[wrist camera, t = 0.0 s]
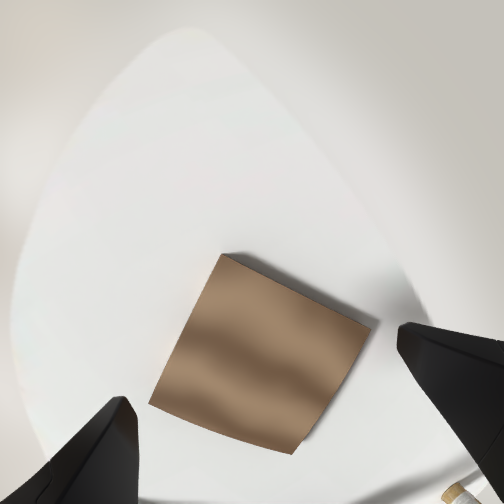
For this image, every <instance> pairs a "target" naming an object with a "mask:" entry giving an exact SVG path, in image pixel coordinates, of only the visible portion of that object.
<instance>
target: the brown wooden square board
mask: <svg viewBox="0 0 504 504" xmlns="http://www.w3.org/2000/svg"><path fill="white" fill-rule="evenodd" d="M370 331H371V329H369V328H367V327H365V326H364V325H362V324H360V323H358V322H356V321H354V320H352V319H349V318H347V317H345V316H343V315H341V314H339V313H337V312H335V311H333V310H331V309H329V308H327V307H325V306H323V305H321V304H319V303H317V302H315V301H313V300H311V299H309V298H307V297H305V296H303V295H301V294H299V293H297V292H295V291H293V290H291V289H289V288H287V287H285V286H283V285H281V284H279V283H277V282H276V281H274V280H272V279H270V278H268V277H266V276H264V275H262V274H260V273H258V272H256V271H254V270H252V269H250V268H248V267H246V266H244V265H242V264H240V263H238V262H236V261H234V260H233V259H231V258H229V257H227V256H225V255H223V254H221V255H220V257H219V259H218V261H217V263H216V265H215V267H214V269H213V271H212V273H211V275H210V277H209V279H208V281H207V283H206V285H205V287H204V289H203V291H202V293H201V295H200V297H199V299H198V301H197V303H196V305H195V307H194V309H193V311H192V313H191V315H190V317H189V319H188V321H187V323H186V325H185V327H184V329H183V331H182V333H181V335H180V337H179V339H178V341H177V343H176V345H175V347H174V349H173V352H172V354H171V356H170V358H169V360H168V362H167V364H166V366H165V368H164V370H163V372H162V375H161V377H160V379H159V381H158V383H157V385H156V387H155V389H154V392H153V394H152V396H151V398H150V401H149V403H148V404H150V405H152V406H154V407H157V408H159V409H161V410H163V411H165V412H167V413H170V414H172V415H174V416H176V417H179V418H181V419H183V420H186V421H188V422H191V423H193V424H195V425H198V426H201V427H203V428H206V429H208V430H211V431H214V432H216V433H219V434H222V435H225V436H228V437H231V438H234V439H237V440H240V441H243V442H246V443H250V444H253V445H256V446H260V447H263V448H267V449H271V450H274V451H278V452H282V453H286V454H291V455H292V454H293V453H294V451H295V450H296V449H297V447H298V446H299V445H300V443H301V442H302V441H303V439H304V438H305V437H306V435H307V434H308V432H309V431H310V430H311V428H312V427H313V425H314V424H315V423H316V421H317V420H318V418H319V417H320V415H321V414H322V412H323V411H324V409H325V408H326V406H327V405H328V403H329V402H330V400H331V399H332V397H333V395H334V394H335V392H336V391H337V389H338V387H339V386H340V384H341V383H342V381H343V379H344V378H345V376H346V374H347V373H348V371H349V369H350V367H351V366H352V364H353V362H354V360H355V359H356V357H357V355H358V353H359V352H360V350H361V348H362V346H363V344H364V342H365V340H366V339H367V337H368V335H369V333H370Z"/></svg>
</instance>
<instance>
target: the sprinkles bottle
mask: <svg viewBox="0 0 504 504" xmlns="http://www.w3.org/2000/svg"><path fill="white" fill-rule="evenodd" d="M441 499H442V500H443V501H444V502H445V503H446V504H481V503H480V502H479V501H478V500H477V499H476V498H475V497H474V496H473V495H472V494H471V493H469V492H468V491H467V490H465V489H464V488H463V487H462V486H461V485H460V483H456V484H454V485H453V486H451V487H450V488H449V489H448V490H446V492H445V493H444V494H443V496H442V498H441Z"/></svg>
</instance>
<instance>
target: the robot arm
mask: <svg viewBox="0 0 504 504" xmlns="http://www.w3.org/2000/svg"><path fill="white" fill-rule="evenodd" d="M397 350H398V352H399V354H400V356H401V357H402V359H403V360H404V362H405V364H406V365H407V367H408V368H409V370H410V372H411V373H412V375H413V377H414V378H415V380H416V381H417V383H418V384H419V386H420V387H421V388H422V390H423V391H424V392H425V394H426V395H427V396H428V397H429V399H430V400H431V401H432V403H433V404H434V405H435V407H436V408H437V409H438V411H439V412H440V413H441V415H442V416H443V417H444V419H445V420H446V421H447V423H448V424H449V425H450V427H451V428H452V430H453V431H454V432H455V434H456V435H457V436H458V438H459V439H460V441H461V442H462V443H463V445H464V446H465V448H466V449H467V450H468V452H469V453H470V455H471V456H472V458H473V459H474V460H475V462H476V463H477V464H478V467H479V468H480V469H481V471H482V472H483V474H484V475H485V477H486V478H487V480H488V481H489V483H490V484H491V486H492V487H493V489H494V491H495V492H496V494H497V495H498V497H499V498H500V500H501V501H502V502H503V503H504V341H500V340H497V341H496V340H494V339H489V338H484V337H479V336H473V335H469V334H464V333H459V332H454V331H449V330H445V329H440V328H436V327H431V326H426V325H422V324H417V323H413V322H407V323H405V324H402V325H400V326H399V328H398V336H397ZM138 479H139V440H138V418H137V415H136V413H135V411H134V409H133V408H132V406H131V404H130V403H129V401H128V399H127V398H126V397H125V396H117V397H113V398H112V399H111V400H110V401H109V402H108V403H107V404H106V405H105V406H104V407H103V408H102V409H101V410H100V411H99V412H98V413H97V414H96V415H95V416H94V417H93V418H92V419H91V420H90V421H89V422H88V423H87V424H86V425H85V426H84V427H83V428H82V429H81V430H80V431H79V432H78V433H76V434H75V435H74V436H73V437H72V438H71V439H70V440H69V441H68V442H67V443H66V444H65V445H64V446H63V447H62V448H61V449H60V450H59V451H58V452H57V453H56V454H55V455H54V456H53V457H52V458H51V459H50V461H48V462H47V463H46V464H45V465H44V466H43V467H42V468H41V469H40V470H39V471H38V472H37V473H36V474H35V475H34V476H33V477H31V478H30V479H29V480H28V481H27V482H25V483H24V484H23V485H22V486H21V487H19V488H18V489H17V490H15V491H14V492H13V493H12V494H10V495H9V496H8V497H6V498H5V499H4V500H3V501H1V502H0V504H138Z"/></svg>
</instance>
